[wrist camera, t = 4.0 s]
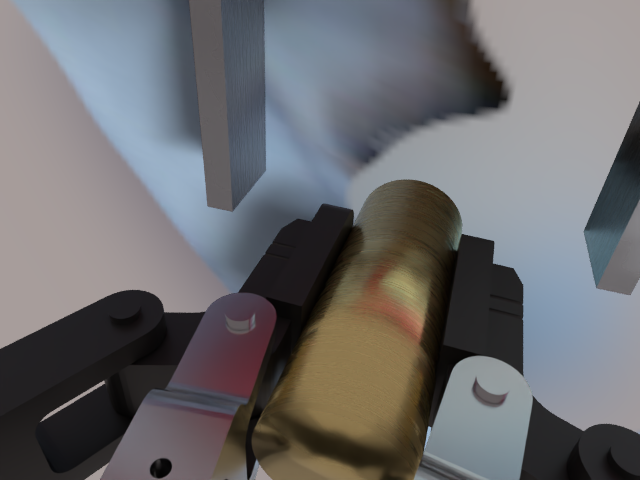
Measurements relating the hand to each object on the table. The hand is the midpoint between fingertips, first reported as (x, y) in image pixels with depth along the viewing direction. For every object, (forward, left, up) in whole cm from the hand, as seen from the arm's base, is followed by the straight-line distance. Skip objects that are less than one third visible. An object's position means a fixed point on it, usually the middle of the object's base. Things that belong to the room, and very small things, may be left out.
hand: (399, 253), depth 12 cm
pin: (0, 0, -1) cm, 1 cm away
